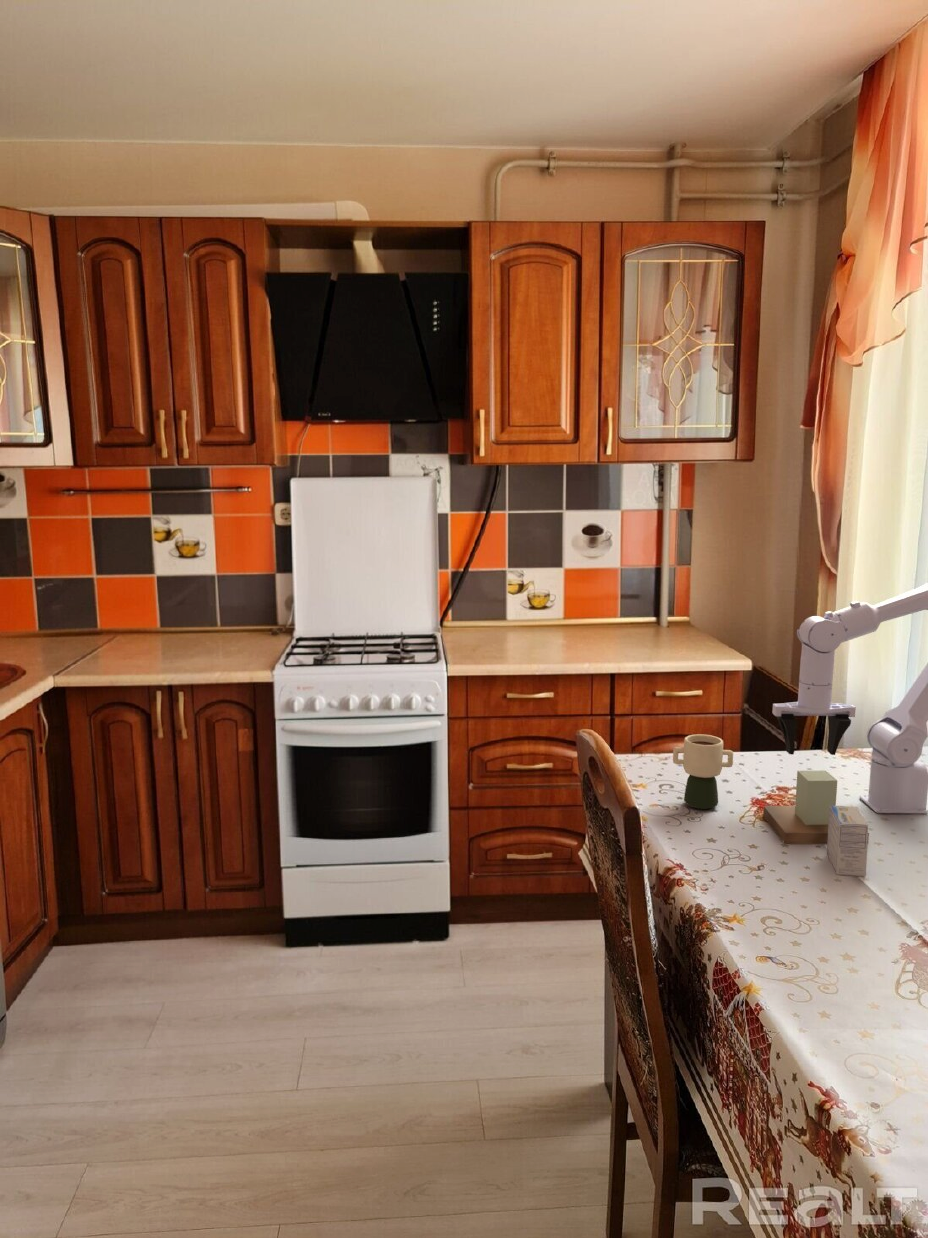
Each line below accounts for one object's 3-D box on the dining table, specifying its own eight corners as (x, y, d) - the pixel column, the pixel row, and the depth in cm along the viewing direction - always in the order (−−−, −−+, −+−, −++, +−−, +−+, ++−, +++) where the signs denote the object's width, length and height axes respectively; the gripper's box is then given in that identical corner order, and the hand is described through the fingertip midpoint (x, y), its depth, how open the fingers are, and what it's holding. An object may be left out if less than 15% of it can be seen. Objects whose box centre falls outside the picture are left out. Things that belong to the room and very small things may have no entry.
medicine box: (866, 878, 138) (870, 825, 136) (835, 875, 139) (839, 823, 137) (854, 856, 145) (858, 806, 144) (825, 854, 146) (829, 804, 145)
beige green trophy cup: (729, 800, 169) (732, 735, 167) (732, 815, 162) (735, 747, 160) (670, 796, 172) (673, 732, 169) (671, 810, 165) (674, 743, 162)
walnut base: (840, 816, 161) (840, 806, 161) (868, 844, 150) (869, 833, 149) (763, 816, 162) (763, 805, 161) (784, 844, 150) (785, 832, 150)
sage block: (822, 813, 158) (825, 770, 157) (834, 824, 153) (837, 780, 152) (794, 813, 158) (797, 770, 156) (805, 824, 153) (808, 780, 152)
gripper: (846, 677, 166) (841, 746, 168) (769, 676, 166) (764, 745, 169) (862, 686, 159) (856, 758, 162) (781, 686, 159) (776, 758, 162)
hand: (810, 753), depth 165 cm, fingers open, 7 cm apart
